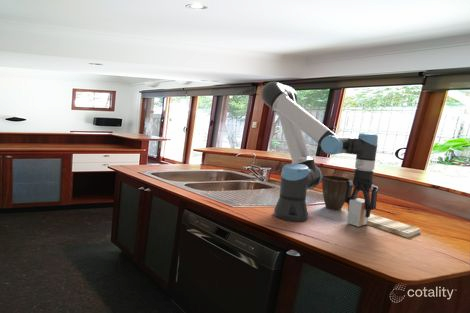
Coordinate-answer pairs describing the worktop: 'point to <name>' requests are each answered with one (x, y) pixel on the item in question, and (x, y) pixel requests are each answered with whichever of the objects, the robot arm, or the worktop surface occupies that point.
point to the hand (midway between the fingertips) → (357, 221)
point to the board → (392, 226)
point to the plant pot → (334, 191)
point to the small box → (356, 212)
